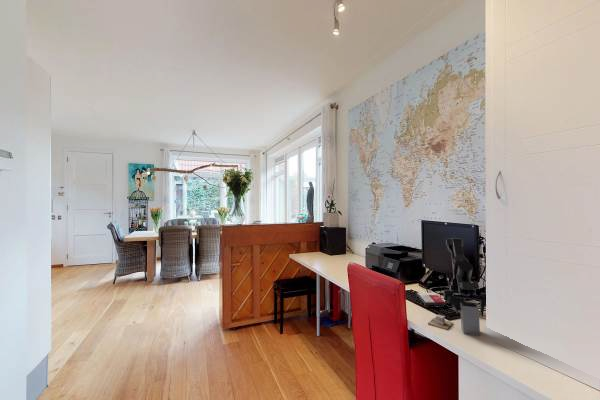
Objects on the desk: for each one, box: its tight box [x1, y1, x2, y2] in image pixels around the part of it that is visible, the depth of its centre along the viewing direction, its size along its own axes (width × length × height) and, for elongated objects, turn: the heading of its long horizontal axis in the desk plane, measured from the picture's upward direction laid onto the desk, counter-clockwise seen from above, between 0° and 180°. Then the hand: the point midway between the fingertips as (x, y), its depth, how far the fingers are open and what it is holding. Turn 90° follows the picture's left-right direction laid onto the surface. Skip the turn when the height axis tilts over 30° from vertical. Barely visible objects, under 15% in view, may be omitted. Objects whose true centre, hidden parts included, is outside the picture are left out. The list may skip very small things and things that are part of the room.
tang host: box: [427, 314, 454, 331], centre depth 124 cm, size 8×8×4 cm
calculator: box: [416, 292, 447, 306], centre depth 151 cm, size 11×4×15 cm
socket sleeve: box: [460, 301, 481, 337], centre depth 116 cm, size 6×6×12 cm
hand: (469, 315), depth 116 cm, fingers open, 9 cm apart
